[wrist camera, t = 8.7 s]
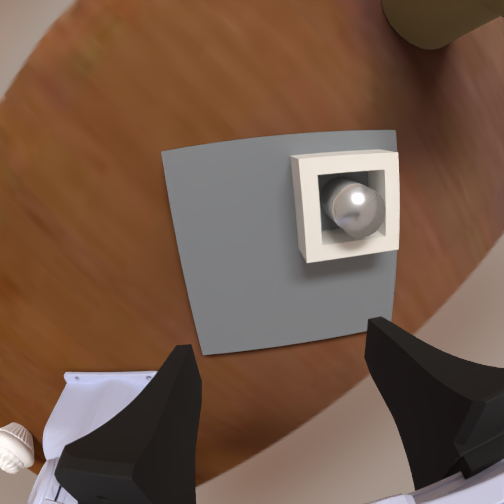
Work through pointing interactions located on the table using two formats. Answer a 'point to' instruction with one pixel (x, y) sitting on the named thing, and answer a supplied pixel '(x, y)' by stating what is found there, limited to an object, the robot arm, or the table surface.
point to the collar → (308, 205)
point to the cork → (439, 19)
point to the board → (268, 244)
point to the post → (353, 206)
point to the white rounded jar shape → (15, 448)
